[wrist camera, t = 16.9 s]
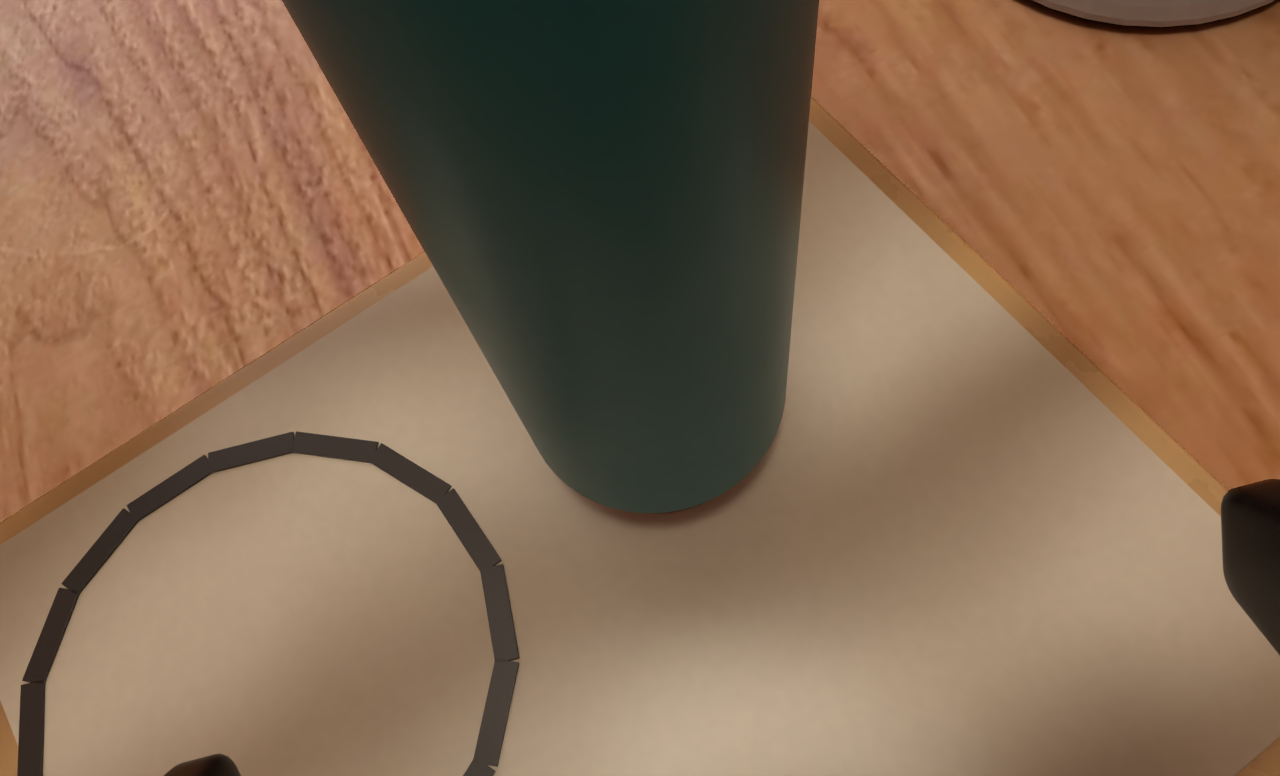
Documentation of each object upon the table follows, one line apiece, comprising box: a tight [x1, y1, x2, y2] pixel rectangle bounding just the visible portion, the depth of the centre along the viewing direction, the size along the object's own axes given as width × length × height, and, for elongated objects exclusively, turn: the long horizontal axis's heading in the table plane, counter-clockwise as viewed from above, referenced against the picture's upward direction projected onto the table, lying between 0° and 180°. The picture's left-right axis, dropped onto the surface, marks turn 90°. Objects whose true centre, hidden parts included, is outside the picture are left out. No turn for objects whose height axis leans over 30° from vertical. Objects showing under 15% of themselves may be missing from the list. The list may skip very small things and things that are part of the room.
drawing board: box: [0, 97, 1280, 776], centre depth 16 cm, size 16×19×1 cm
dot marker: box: [282, 0, 819, 514], centre depth 12 cm, size 4×4×12 cm
